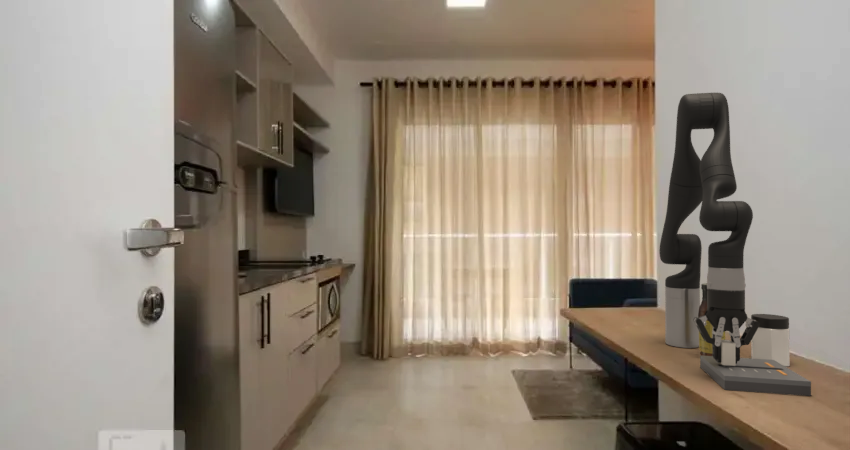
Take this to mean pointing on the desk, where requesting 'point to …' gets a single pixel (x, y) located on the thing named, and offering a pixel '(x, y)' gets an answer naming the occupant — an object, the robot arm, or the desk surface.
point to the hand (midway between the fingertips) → (725, 361)
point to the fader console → (756, 376)
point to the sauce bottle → (703, 345)
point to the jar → (771, 338)
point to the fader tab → (728, 353)
